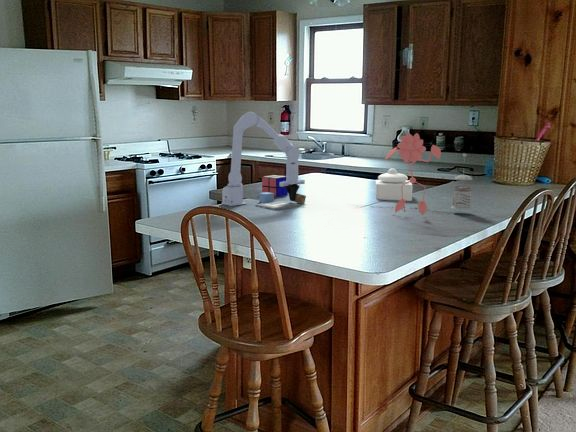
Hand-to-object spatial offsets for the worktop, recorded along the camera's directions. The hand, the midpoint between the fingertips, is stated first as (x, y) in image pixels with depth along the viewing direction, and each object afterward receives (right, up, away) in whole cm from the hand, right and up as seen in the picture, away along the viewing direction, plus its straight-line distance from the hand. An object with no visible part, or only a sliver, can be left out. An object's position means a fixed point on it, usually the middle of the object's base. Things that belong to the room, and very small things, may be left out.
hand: (292, 200), depth 277 cm
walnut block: (+2, -1, +2) cm, 3 cm away
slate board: (-7, -3, -5) cm, 9 cm away
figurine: (+50, -7, -27) cm, 57 cm away
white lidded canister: (+51, +1, +17) cm, 54 cm away
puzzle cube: (-9, +3, +30) cm, 31 cm away
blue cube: (-13, -1, +4) cm, 13 cm away
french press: (+77, -4, -9) cm, 78 cm away
